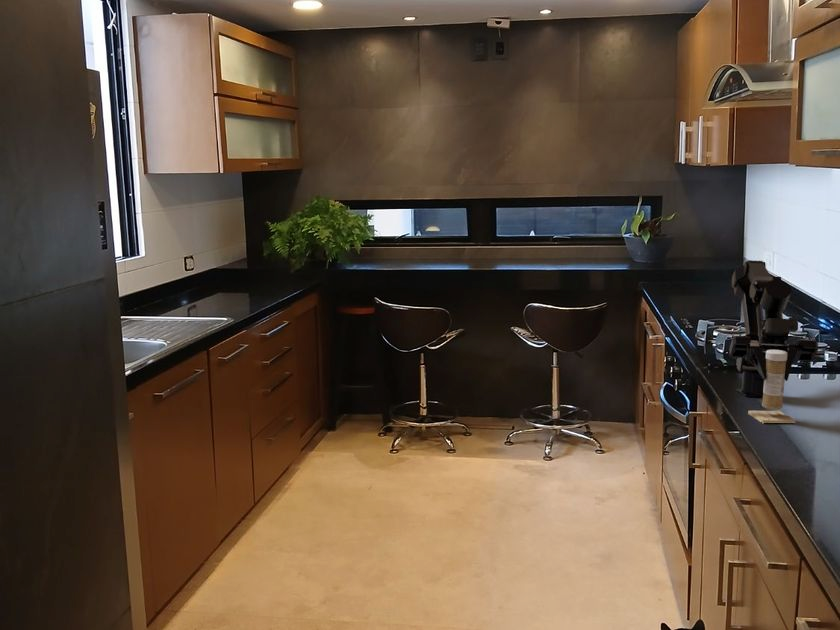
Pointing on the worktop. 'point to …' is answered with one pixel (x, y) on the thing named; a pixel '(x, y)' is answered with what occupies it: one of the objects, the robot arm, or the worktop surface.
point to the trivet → (771, 417)
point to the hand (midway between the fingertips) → (775, 379)
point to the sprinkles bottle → (774, 379)
